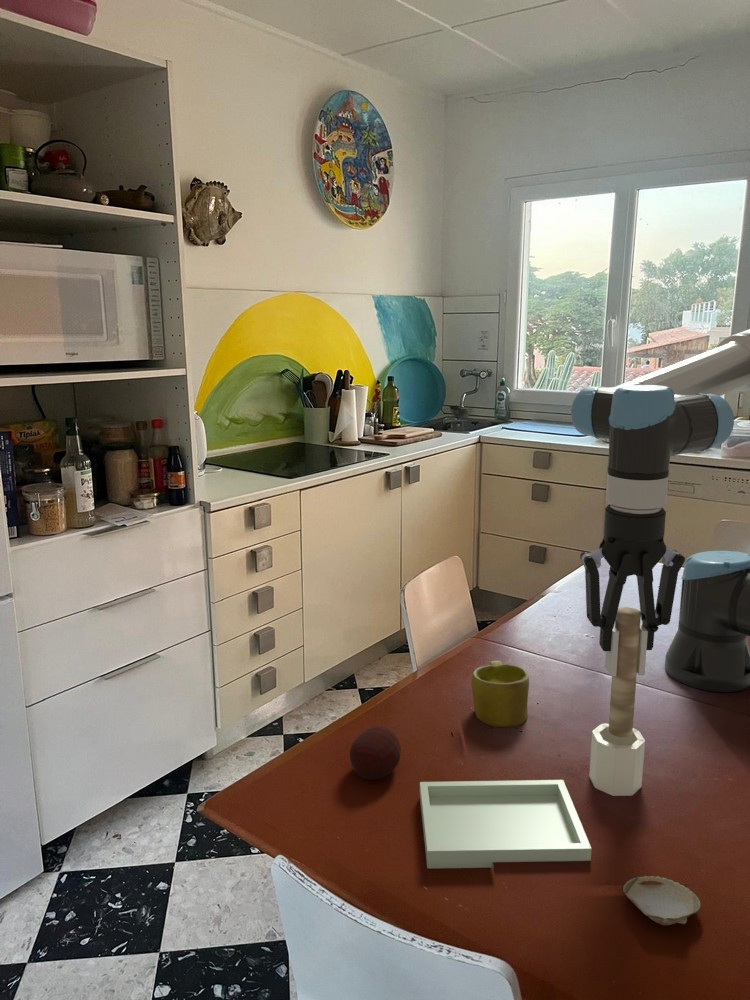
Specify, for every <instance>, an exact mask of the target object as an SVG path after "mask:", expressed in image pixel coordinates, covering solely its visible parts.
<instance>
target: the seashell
mask: <svg viewBox="0 0 750 1000" xmlns="http://www.w3.org/2000/svg"><path fill="white" fill-rule="evenodd" d="M650 881H651V882H658V883H643V882H650ZM622 890H623V892H624V894H625V896H626V897H627V898H628V900H630V901H631V903H632V904H633V905H634V906H635V907H636V908H637V909H638V910H639V911H641V912H642V913H643V914H644V915H645V916H646V917H648V918H649V919H650V920H651V921H654V922H655V923H657V924H659V925H660V926H661V925H662V926H671V925H674V924H677V923H678V924H682V925H686V924H687V921H688V918H689V917H692V916H693V915H694V914H696V913H697V912H699V911H700V910H701V907H702V903H701V901H700V899H699V897H698V895H697V894H695V892H694V891H692V890H691V889H690V888H689V887H686V886H685V885H683V884H681V883H680V882H677V881H674V880H672V879H669V878H667V877H661V876H659V875H657V876H654V875H649V876H648V875H644V876H637V877H633V878H631V879H629V880H628V881H626V882H625V884H624V885H623V889H622Z"/></svg>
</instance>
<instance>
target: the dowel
mask: <svg viewBox="0 0 750 1000" xmlns="http://www.w3.org/2000/svg"><path fill="white" fill-rule="evenodd" d="M641 621H642V620H641V612H640V609H637V608H635V607H629V606H627V607H626V606H622V607H618V611H617V615H616V620H615V624H614V626H615V627H616V628H617V630H618V631H619V641H618V657H617V672H616V676H611V684H610V702H609V718H608V719H609V720H608V724H609V732H610V733H611V734H612V735H614V736H617V737H629V736H631V735H632V732H633V728H634V716H635V705H636V704H635V701H636V690H637V689H636V687H637V686H636V685H637V675H638V673H637V662H638V648H639V634H640V623H641Z"/></svg>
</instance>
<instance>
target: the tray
mask: <svg viewBox="0 0 750 1000" xmlns="http://www.w3.org/2000/svg"><path fill="white" fill-rule="evenodd" d="M419 802H420V803H419V804H420V812H421V822H422V823H421V824H422V830H423V831H422V832H423V841H424V851H425V860H426V868H427V869H428V870H429V869H477V868H479V869H480V868H481V869H483V868H484V869H485V868H486V869H487V868H488V869H489V868H491V869H492V868H495V867H494V863H523V862H524V863H528V862H529V863H531V862H533V863H535V862H536V863H537V862H538V863H540V862H591V860H592V859H591V858H592V850H593V849H592V847H591V844H590V841H589V839H588V837H587V834H586V831H585V829H584V827H583V824H582V822H581V820H580V818H579V814H578V813H577V812H578V811H577V810H576V808H575V805H574V803H573V800H572V798H571V795H570V793H569V791H568V788H567V786H566V784H565V781H564V779H540V780H539V779H538V780H537V779H536V780H535V779H532V780H531V779H527V780H524V779H523V780H470V781H469V780H467V781H465V780H464V781H462V780H461V781H459V780H457V781H420V782H419Z"/></svg>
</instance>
